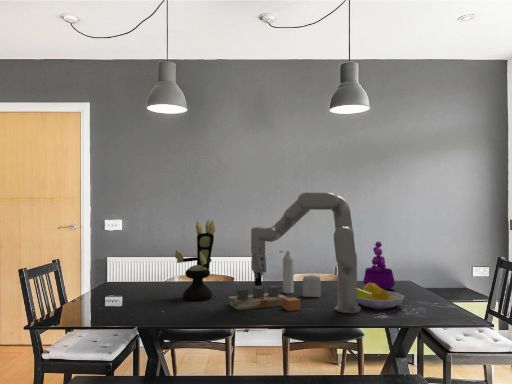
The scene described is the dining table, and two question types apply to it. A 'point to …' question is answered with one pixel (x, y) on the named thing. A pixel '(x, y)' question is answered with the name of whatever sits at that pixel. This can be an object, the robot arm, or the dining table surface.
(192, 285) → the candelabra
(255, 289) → the block
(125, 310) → the dining table surface
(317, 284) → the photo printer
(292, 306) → the cap
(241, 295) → the block
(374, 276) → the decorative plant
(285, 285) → the water bottle
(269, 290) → the block
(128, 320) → the dining table surface
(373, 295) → the fruit bowl
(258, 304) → the breaker board
